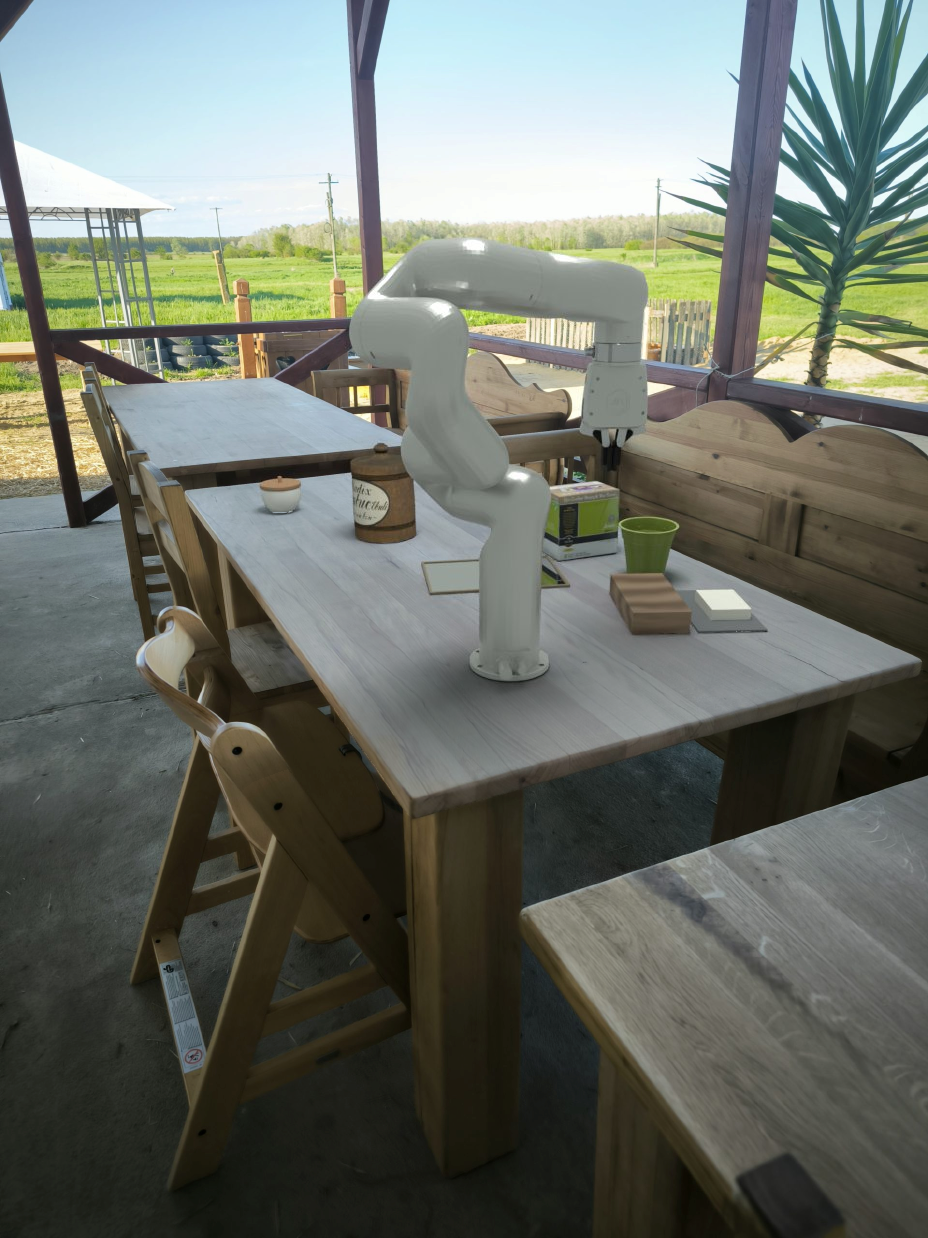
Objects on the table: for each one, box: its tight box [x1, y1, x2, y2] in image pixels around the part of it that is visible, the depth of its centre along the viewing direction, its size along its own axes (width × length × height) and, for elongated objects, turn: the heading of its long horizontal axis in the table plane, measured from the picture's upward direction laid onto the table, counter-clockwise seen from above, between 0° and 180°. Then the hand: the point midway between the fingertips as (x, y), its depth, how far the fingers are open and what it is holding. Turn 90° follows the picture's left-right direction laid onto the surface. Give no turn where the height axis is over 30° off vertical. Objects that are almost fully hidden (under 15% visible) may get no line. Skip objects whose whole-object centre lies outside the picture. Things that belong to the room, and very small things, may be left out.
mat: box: [675, 588, 768, 634], centre depth 149 cm, size 20×12×1 cm, turn 2°
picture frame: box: [420, 554, 571, 596], centre depth 169 cm, size 19×1×28 cm
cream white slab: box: [695, 588, 753, 620], centre depth 149 cm, size 10×7×2 cm
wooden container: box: [350, 442, 417, 544], centre depth 193 cm, size 15×15×22 cm
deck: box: [608, 573, 692, 635], centre depth 148 cm, size 20×10×4 cm, turn 2°
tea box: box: [543, 480, 621, 562], centre depth 180 cm, size 15×10×15 cm
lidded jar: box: [259, 475, 302, 513], centre depth 217 cm, size 11×11×9 cm
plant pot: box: [618, 516, 680, 576], centre depth 165 cm, size 12×12×11 cm
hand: (610, 469), depth 136 cm, fingers closed
